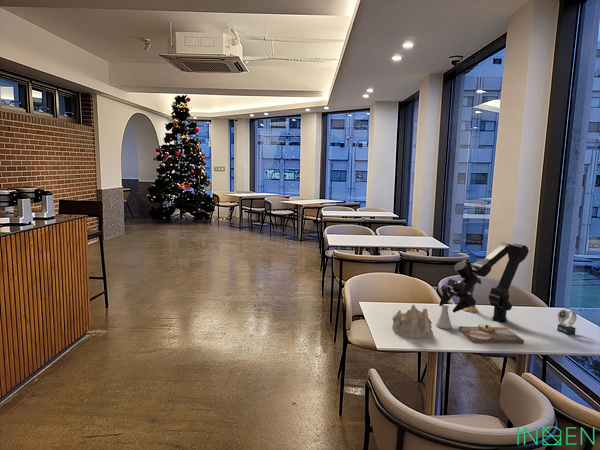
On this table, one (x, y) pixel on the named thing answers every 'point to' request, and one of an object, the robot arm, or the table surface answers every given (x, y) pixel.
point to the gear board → (490, 334)
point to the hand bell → (471, 309)
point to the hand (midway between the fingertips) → (446, 308)
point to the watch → (568, 327)
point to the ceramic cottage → (412, 324)
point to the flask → (444, 319)
